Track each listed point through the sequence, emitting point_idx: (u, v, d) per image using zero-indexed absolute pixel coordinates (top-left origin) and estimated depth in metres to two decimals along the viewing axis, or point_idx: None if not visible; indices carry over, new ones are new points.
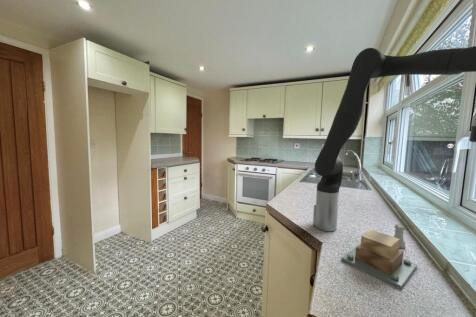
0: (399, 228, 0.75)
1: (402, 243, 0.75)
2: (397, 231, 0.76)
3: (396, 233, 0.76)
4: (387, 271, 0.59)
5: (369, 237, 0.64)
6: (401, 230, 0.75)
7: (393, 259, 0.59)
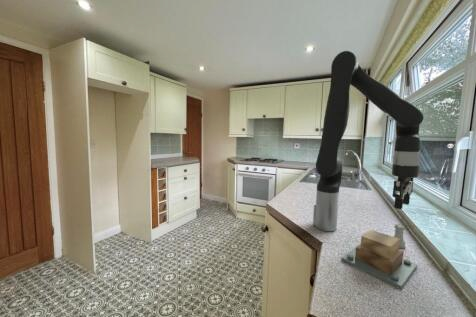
0: (399, 228, 0.75)
1: (402, 243, 0.75)
2: (397, 231, 0.76)
3: (396, 233, 0.76)
4: (387, 271, 0.59)
5: (369, 237, 0.64)
6: (401, 230, 0.75)
7: (393, 259, 0.59)
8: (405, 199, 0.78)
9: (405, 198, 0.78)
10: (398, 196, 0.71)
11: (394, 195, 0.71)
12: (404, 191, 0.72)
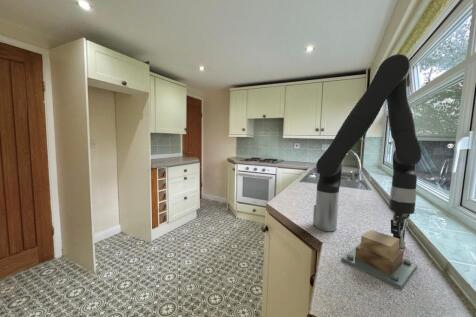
0: None
1: (402, 243, 0.75)
2: None
3: None
4: (387, 271, 0.59)
5: (369, 237, 0.64)
6: None
7: (393, 259, 0.59)
8: None
9: None
10: (396, 233, 0.73)
11: (392, 232, 0.74)
12: (401, 228, 0.74)
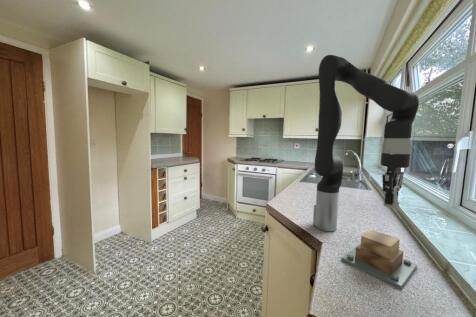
0: None
1: (396, 203, 0.66)
2: None
3: None
4: (387, 271, 0.59)
5: (369, 237, 0.64)
6: None
7: (393, 259, 0.59)
8: None
9: None
10: (389, 190, 0.63)
11: (384, 190, 0.64)
12: (394, 185, 0.64)
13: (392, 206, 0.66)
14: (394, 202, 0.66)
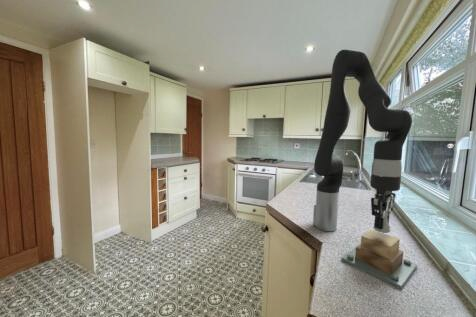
0: None
1: (386, 227, 0.62)
2: None
3: None
4: (387, 271, 0.59)
5: (369, 237, 0.64)
6: (385, 211, 0.62)
7: (393, 259, 0.59)
8: None
9: None
10: (378, 215, 0.60)
11: (373, 214, 0.61)
12: (384, 209, 0.61)
13: (382, 230, 0.62)
14: (384, 226, 0.62)
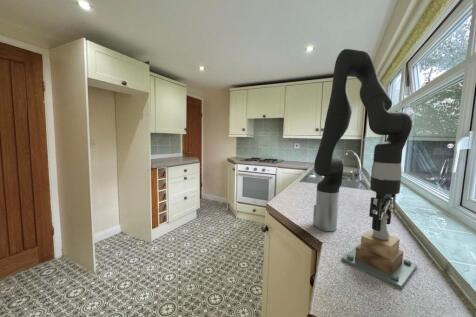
0: None
1: (385, 234, 0.62)
2: None
3: None
4: (387, 271, 0.59)
5: (369, 237, 0.64)
6: (384, 219, 0.62)
7: (393, 259, 0.59)
8: None
9: None
10: (375, 216, 0.59)
11: (371, 215, 0.60)
12: (383, 210, 0.60)
13: (381, 238, 0.63)
14: (383, 234, 0.62)
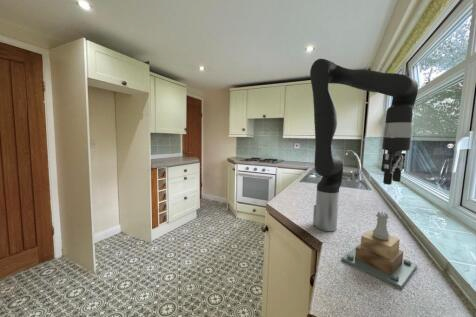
0: (381, 216, 0.63)
1: (385, 234, 0.62)
2: (379, 220, 0.63)
3: (378, 223, 0.64)
4: (387, 271, 0.59)
5: (369, 237, 0.64)
6: (384, 219, 0.62)
7: (393, 259, 0.59)
8: (396, 176, 0.72)
9: (396, 175, 0.72)
10: (387, 170, 0.65)
11: (383, 169, 0.66)
12: (394, 165, 0.66)
13: (381, 238, 0.63)
14: (383, 234, 0.62)
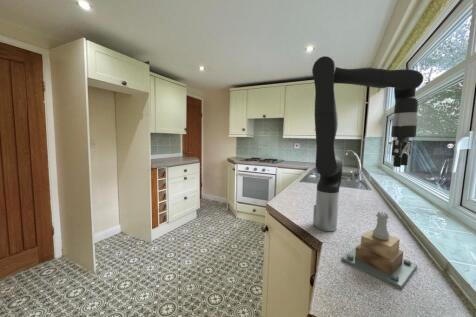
0: (381, 216, 0.63)
1: (385, 234, 0.62)
2: (379, 220, 0.63)
3: (378, 223, 0.64)
4: (387, 271, 0.59)
5: (369, 237, 0.64)
6: (384, 219, 0.62)
7: (393, 259, 0.59)
8: (403, 160, 0.82)
9: (403, 159, 0.82)
10: (397, 154, 0.75)
11: (393, 153, 0.76)
12: (402, 150, 0.76)
13: (381, 238, 0.63)
14: (383, 234, 0.62)
